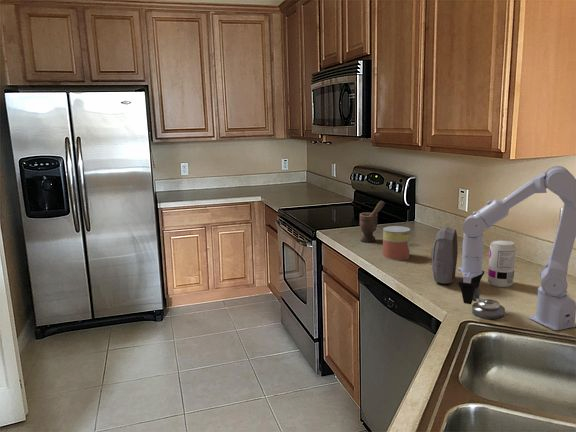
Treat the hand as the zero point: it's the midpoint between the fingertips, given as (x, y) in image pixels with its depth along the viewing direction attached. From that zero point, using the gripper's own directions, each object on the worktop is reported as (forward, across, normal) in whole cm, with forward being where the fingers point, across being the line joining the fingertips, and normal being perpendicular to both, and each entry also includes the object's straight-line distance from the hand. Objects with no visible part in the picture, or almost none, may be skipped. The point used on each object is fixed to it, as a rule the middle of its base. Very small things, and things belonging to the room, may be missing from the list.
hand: (470, 298), depth 144 cm
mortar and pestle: (+4, -66, -57) cm, 87 cm away
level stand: (+4, 0, +5) cm, 7 cm away
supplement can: (+4, -29, +5) cm, 30 cm away
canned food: (+4, -46, -38) cm, 60 cm away
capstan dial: (+2, -1, +4) cm, 4 cm away
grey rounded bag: (+4, -24, -14) cm, 28 cm away
